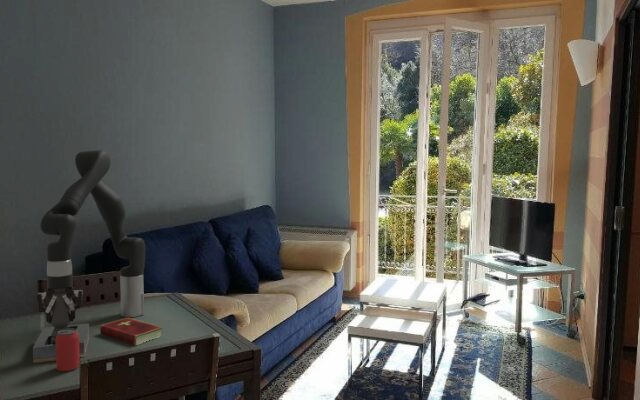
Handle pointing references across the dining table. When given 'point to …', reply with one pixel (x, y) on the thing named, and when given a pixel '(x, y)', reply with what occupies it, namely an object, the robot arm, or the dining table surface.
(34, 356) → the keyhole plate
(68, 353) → the beer can
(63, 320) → the candle holder
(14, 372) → the dining table surface
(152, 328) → the hardcover book
